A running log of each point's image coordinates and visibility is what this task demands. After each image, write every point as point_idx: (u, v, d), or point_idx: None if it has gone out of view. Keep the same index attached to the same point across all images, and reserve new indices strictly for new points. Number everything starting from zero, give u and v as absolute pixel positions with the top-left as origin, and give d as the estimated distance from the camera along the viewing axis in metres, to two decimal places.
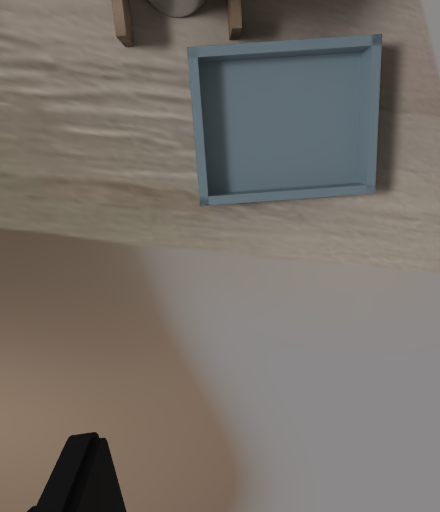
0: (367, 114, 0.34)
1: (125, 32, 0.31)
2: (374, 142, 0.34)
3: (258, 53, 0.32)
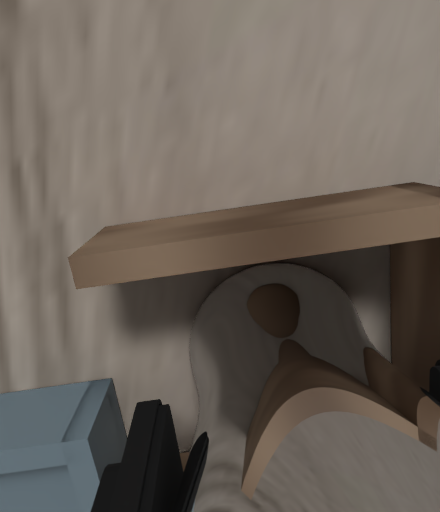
0: None
1: (87, 284, 0.09)
2: None
3: None
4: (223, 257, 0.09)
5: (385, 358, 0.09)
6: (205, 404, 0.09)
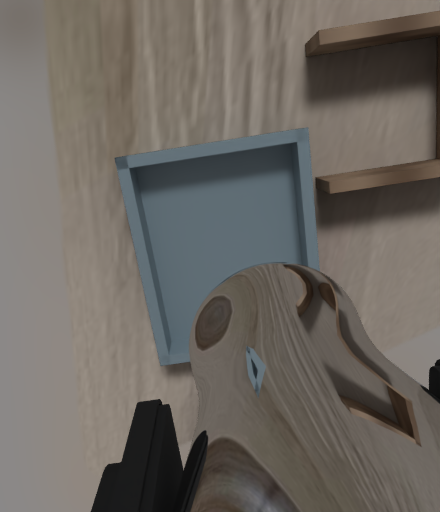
0: None
1: (323, 43, 0.24)
2: None
3: (303, 215, 0.27)
4: (378, 30, 0.24)
5: (385, 357, 0.09)
6: (205, 403, 0.09)
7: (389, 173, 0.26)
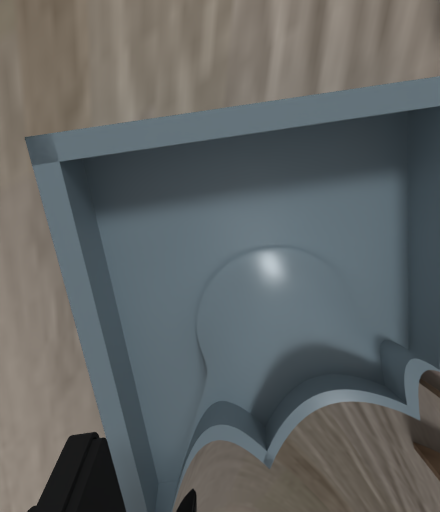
0: None
1: None
2: None
3: (438, 265, 0.13)
4: None
5: None
6: (213, 361, 0.10)
7: None
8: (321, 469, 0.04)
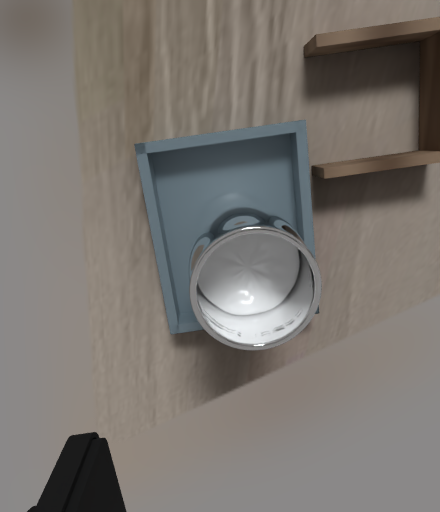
0: None
1: (319, 46, 0.27)
2: None
3: (300, 197, 0.31)
4: (367, 35, 0.27)
5: None
6: None
7: (376, 161, 0.30)
8: (225, 211, 0.22)
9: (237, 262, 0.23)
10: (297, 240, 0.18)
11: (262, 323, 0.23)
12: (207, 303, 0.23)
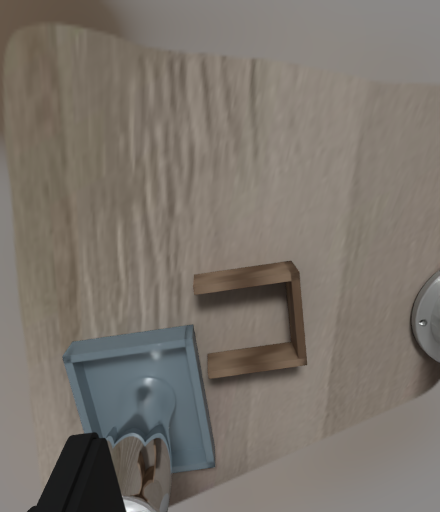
0: None
1: (197, 293, 0.37)
2: None
3: None
4: (232, 286, 0.36)
5: (159, 411, 0.38)
6: None
7: (248, 366, 0.39)
8: (111, 448, 0.32)
9: None
10: (142, 503, 0.28)
11: None
12: None
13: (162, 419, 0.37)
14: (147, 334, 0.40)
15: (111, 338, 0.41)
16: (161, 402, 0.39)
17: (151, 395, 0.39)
